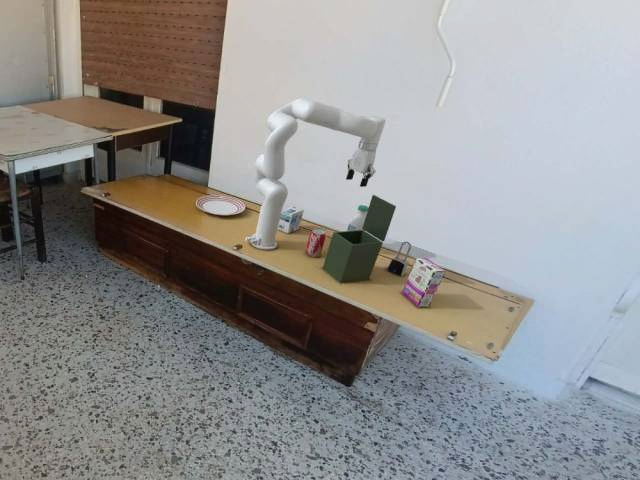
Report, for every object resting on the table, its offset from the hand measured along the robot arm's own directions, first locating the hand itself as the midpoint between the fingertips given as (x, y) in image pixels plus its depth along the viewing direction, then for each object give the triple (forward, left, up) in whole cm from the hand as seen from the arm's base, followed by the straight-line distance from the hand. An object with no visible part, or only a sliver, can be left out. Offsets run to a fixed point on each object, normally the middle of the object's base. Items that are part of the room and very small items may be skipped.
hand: (355, 182), depth 213 cm
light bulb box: (-18, +16, -30) cm, 39 cm away
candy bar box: (-3, -55, -30) cm, 62 cm away
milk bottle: (+4, -6, -30) cm, 31 cm away
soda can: (-22, -12, -30) cm, 39 cm away
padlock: (+6, -34, -30) cm, 45 cm away
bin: (-18, -31, -30) cm, 47 cm away
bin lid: (-12, -31, -4) cm, 33 cm away
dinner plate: (-43, +47, -30) cm, 71 cm away
